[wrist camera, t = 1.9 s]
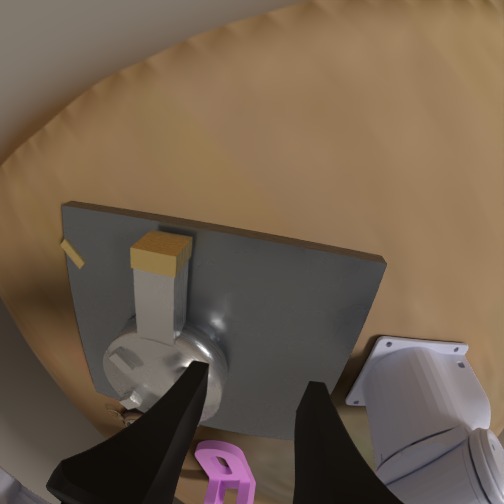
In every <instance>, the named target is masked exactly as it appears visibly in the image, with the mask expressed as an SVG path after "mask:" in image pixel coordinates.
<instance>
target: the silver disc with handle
mask: <svg viewBox="0 0 504 504" xmlns="http://www.w3.org/2000/svg"><path fill="white" fill-rule="evenodd" d="M191 250H192V237H189V236H184V235H178V234H173V233H167V232H162V231H156V230H151V231H149V232H148V233H147V234H146V235H145V236H143V237H142V238H141V239H140V240H139V241H137V242H136V243H135V244H134V245H133V246H131V247H130V255H131V268H133V273H134V294H135V309H136V317H134V318H132V319H130V320H129V321H128V322H127V323H126V324H125V325H124V327H123V328H122V329H121V331H120V332H119V333H118V335H117V336H116V337H115V339H114V340H113V342H112V343H111V344H110V346H109V347H108V348H107V350H106V352H105V354H104V357H103V367H104V371H105V374H106V377H107V379H108V381H109V382H110V384H111V385H112V387H113V388H114V389H115V391H116V392H117V393H118V394H119V395H120V396H121V399H120V401H119V402H120V403H121V404H122V405H123V406H124V407H126V408H127V409H128V410H129V409H132V408H137V409H138V410H140V411H142V412H144V413H145V412H146V411H148V410H149V409H150V408H151V407H152V406H153V405H154V404H155V403H156V402H157V401H158V400H159V399H160V398H161V397H162V396H163V395H164V394H165V393H166V392H167V391H168V390H169V389H170V388H171V387H172V386H173V384H174V383H175V382H176V381H177V380H178V379H179V377H180V376H181V375H182V374H183V372H184V371H185V370H186V368H187V367H188V366H189V364H190V363H191V361H193V360H197V361H201V362H205V363H209V375H208V386H207V396H206V400H205V404H204V408H203V411H202V415H201V418H200V421H199V423H198V426H199V424H200V422H202V421H205V420H207V419H209V418H211V417H212V416H213V415H214V414H215V413H216V412H217V410H218V409H219V406H220V402H221V398H222V394H223V390H224V386H225V382H226V378H227V374H228V366H227V361H226V358H225V356H224V354H223V352H222V350H221V349H220V347H219V346H218V344H217V343H216V342H215V341H214V340H213V339H212V338H211V337H210V336H209V335H208V334H207V333H205V332H204V331H203V330H201V329H200V328H198V327H197V326H195V325H194V324H192V323H190V322H188V321H186V299H187V280H188V263H189V258H190V257H191Z"/></svg>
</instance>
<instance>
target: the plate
mask: <svg viewBox="0 0 504 504" xmlns="http://www.w3.org/2000/svg"><path fill="white" fill-rule="evenodd" d="M62 217H63V230H64V241H63V242H62V244H61V247H62V248H63V249H64V250H65V252H66V259H67V267H68V274H69V280H70V287H71V292H72V298H73V303H74V309H75V314H76V318H77V323H78V327H79V332H80V336H81V340H82V344H83V348H84V352H85V356H86V359H87V363H88V366H89V370H90V373H91V376H92V380H93V383H94V386H95V389H96V392H98V393H101V394H103V395H106V396H109V397H111V398H114V399H116V400H119V401H120V399H121V396H120V395H119V394H118V393H117V392H116V391H115V389H114V388H113V387H112V385H111V384H110V382H109V381H108V379H107V377H106V374H105V371H104V367H103V357H104V354H105V352H106V350H107V348H108V347H109V346H110V344H111V343H112V342H113V340H114V339H115V337H116V336H117V335H118V333H119V332H120V331H121V329H122V328H123V327H124V325H125V324H126V323H127V322H128V321H129V320H130V319H132V318H134V317H136V309H135V294H134V273H133V268H131V255H130V247H131V246H133V245H134V244H135V243H136V242H137V241H139V240H140V239H141V238H142V237H143V236H145V235H146V234H147V233H148V232H149V231H151V230H156V231H162V232H167V233H173V234H178V235H184V236H189V237H192V250H191V257H190V258H189V263H188V280H187V299H186V321H188V322H190V323H192V324H194V325H195V326H197V327H198V328H200V329H201V330H203V331H204V332H205V333H207V334H208V335H209V336H210V337H211V338H212V339H213V340H214V341H215V342H216V343H217V344H218V346H219V347H220V349H221V350H222V352H223V354H224V356H225V358H226V361H227V366H228V374H227V378H226V382H225V386H224V390H223V394H222V398H221V402H220V406H219V409H218V410H217V412H216V413H215V414H214V415H213V416H212V417H211V418H209V419H207V420H205V421H202V422H200V424H199V425H203V426H207V427H212V428H216V429H221V430H226V431H231V432H237V433H242V434H248V435H254V436H261V437H268V438H275V439H283V440H293V441H294V429H295V419H296V410H297V408H298V406H299V403H300V401H301V399H302V397H303V395H304V392H305V390H306V388H307V385H308V383H309V381H316V382H324V383H325V384H326V386H327V389H328V391H329V394H330V395H331V393H332V391H333V389H334V387H335V385H336V383H337V381H338V379H339V377H340V375H341V373H342V371H343V369H344V367H345V365H346V363H347V361H348V359H349V357H350V355H351V352H352V350H353V348H354V346H355V344H356V341H357V339H358V337H359V335H360V332H361V330H362V328H363V325H364V323H365V321H366V318H367V316H368V313H369V311H370V308H371V306H372V303H373V301H374V298H375V296H376V293H377V291H378V288H379V285H380V282H381V280H382V277H383V274H384V271H385V269H386V266H387V263H386V262H385V260H384V259H383V257H382V256H379V255H374V254H370V253H365V252H360V251H355V250H350V249H345V248H340V247H335V246H330V245H324V244H319V243H314V242H309V241H304V240H299V239H293V238H288V237H283V236H277V235H272V234H267V233H261V232H256V231H250V230H245V229H239V228H234V227H228V226H223V225H217V224H211V223H205V222H200V221H194V220H188V219H182V218H176V217H170V216H164V215H158V214H152V213H146V212H140V211H134V210H127V209H121V208H115V207H108V206H102V205H95V204H89V203H82V202H76V201H70V202H68V203H66V204H64V205H62Z"/></svg>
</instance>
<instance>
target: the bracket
mask: <svg viewBox="0 0 504 504" xmlns="http://www.w3.org/2000/svg"><path fill="white" fill-rule="evenodd" d="M216 456H218V457H222V458H224V459H225V460H226V462H227V463H228V465H229V467H225V466H222V465H221V464H220V463H219V461H218V460H217V458H216ZM195 457H196V459H197V460H198V461H199V463H200V464H201V466H202V467H203V469H204V470H205V472H206V473H207V474H208V476H209V484H208V488H207V492H206V496H205V501H204V504H223V500H224V495H225V490H226V488H232V489H239V490H238V496H237V502H236V504H253V500H254V492H255V485H256V482H255V480H254V477H253V475H252V473H251V471H250V468H249V466H248V463H247V461H246V459H245V456H244V454H243V452H242V450H241V449H239V448H238V447H236V446H235V445H232V444H230V443H227V442H223V441H217V440H206V441H202V442H200V443H198V445H197V448H196V452H195Z"/></svg>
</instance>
